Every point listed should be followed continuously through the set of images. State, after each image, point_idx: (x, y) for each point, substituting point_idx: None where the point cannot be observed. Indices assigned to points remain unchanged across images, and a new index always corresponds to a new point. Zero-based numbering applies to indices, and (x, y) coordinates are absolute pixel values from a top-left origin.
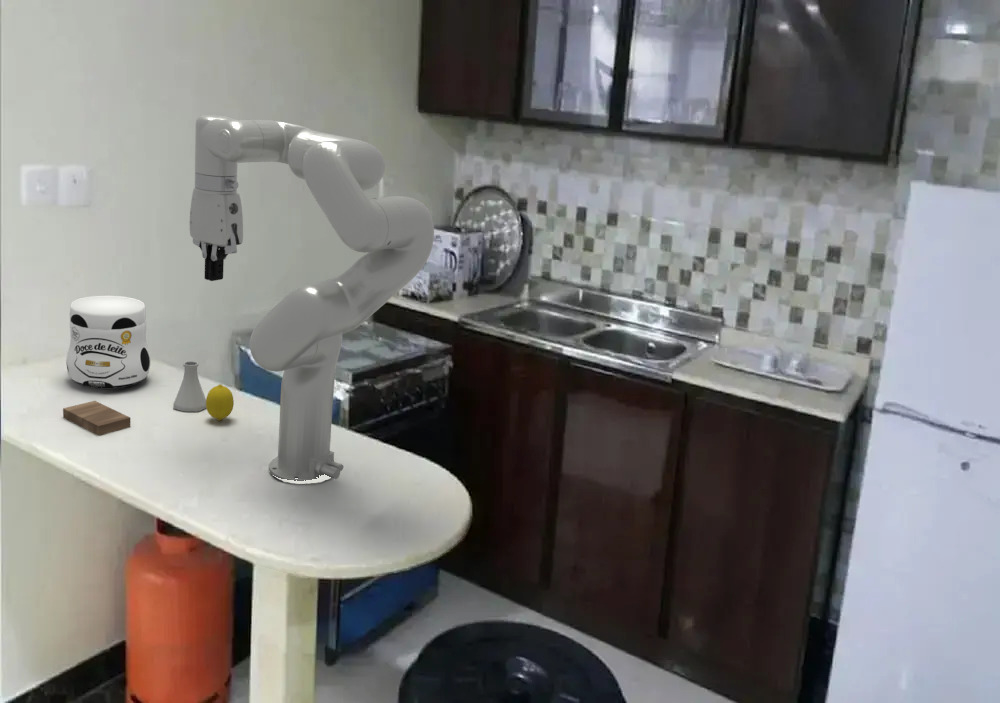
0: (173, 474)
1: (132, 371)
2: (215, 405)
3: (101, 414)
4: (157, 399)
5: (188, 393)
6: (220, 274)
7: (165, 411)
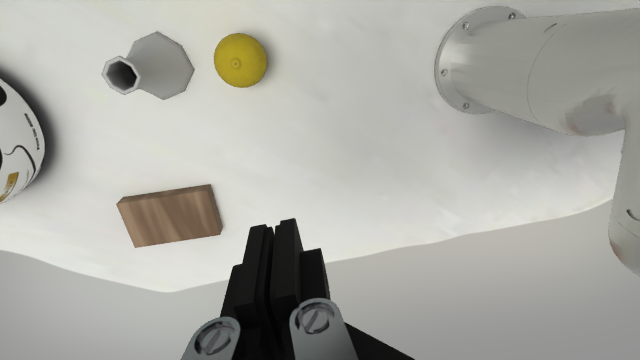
0: (378, 204)
1: (23, 127)
2: (258, 81)
3: (178, 216)
4: (105, 98)
5: (167, 84)
6: (323, 261)
7: (168, 114)
